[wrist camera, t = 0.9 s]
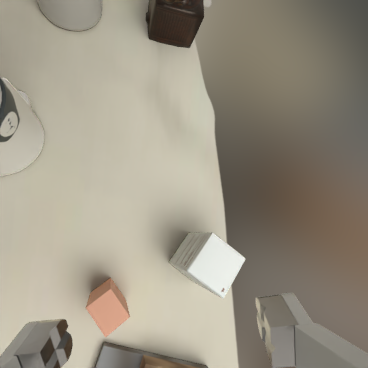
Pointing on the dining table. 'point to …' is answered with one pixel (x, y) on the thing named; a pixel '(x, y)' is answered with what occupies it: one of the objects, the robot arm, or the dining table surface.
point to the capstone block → (107, 307)
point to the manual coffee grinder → (174, 21)
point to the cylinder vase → (72, 13)
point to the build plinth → (137, 359)
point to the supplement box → (208, 262)
